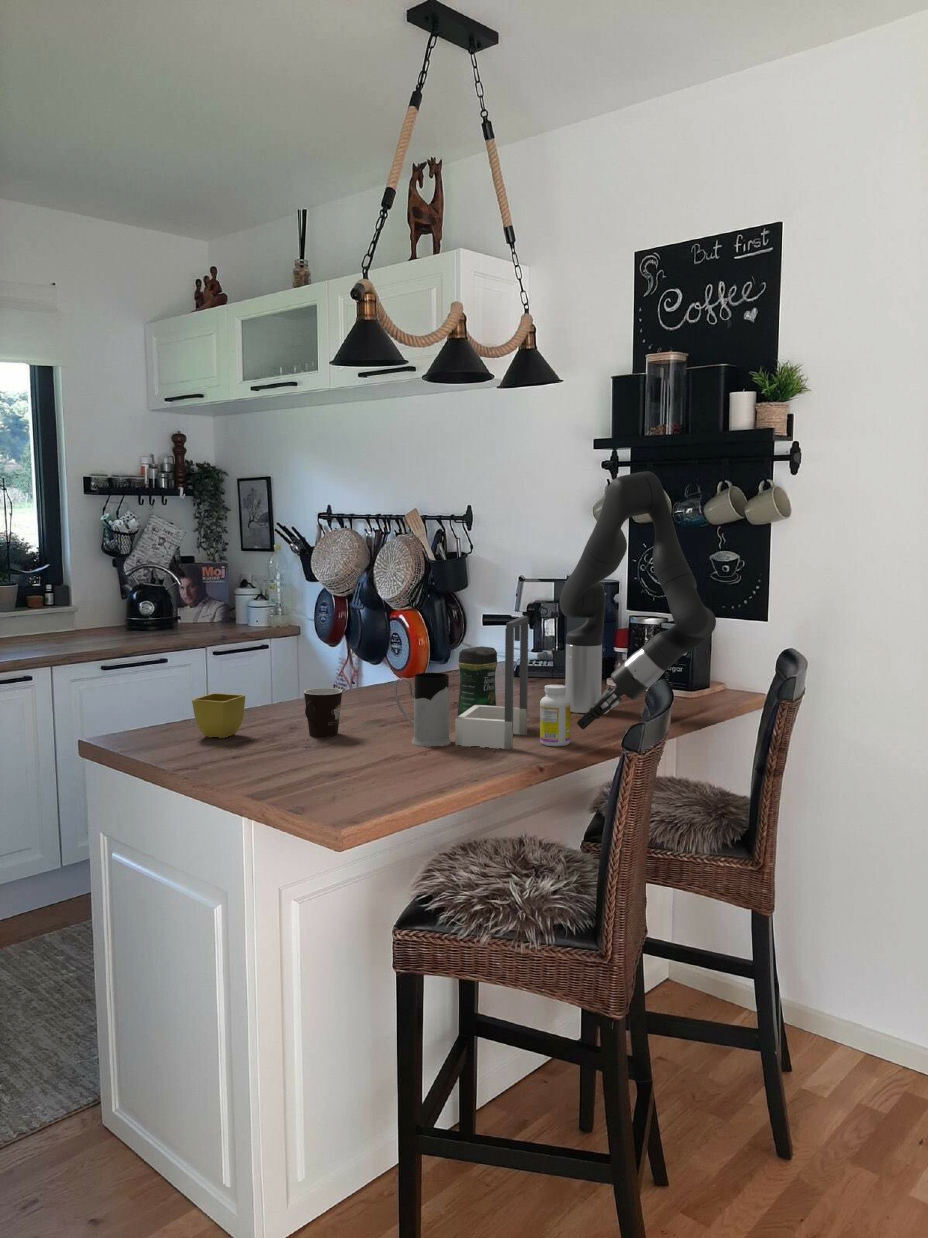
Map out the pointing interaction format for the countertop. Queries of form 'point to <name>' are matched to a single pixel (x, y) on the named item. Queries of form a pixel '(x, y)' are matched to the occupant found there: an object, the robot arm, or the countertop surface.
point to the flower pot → (219, 714)
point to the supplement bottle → (555, 716)
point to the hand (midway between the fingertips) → (580, 725)
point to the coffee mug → (323, 711)
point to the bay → (499, 721)
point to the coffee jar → (477, 677)
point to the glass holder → (429, 709)
